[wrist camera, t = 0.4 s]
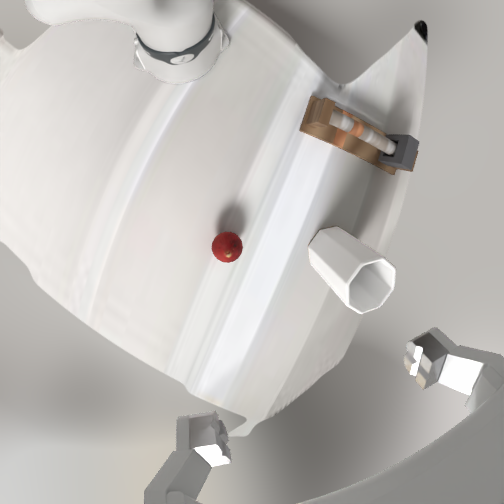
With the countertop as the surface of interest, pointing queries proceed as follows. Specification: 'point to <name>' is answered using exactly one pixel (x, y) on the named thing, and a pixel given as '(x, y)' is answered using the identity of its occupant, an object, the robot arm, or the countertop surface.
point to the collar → (401, 152)
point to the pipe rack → (347, 132)
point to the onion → (227, 247)
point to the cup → (352, 269)
